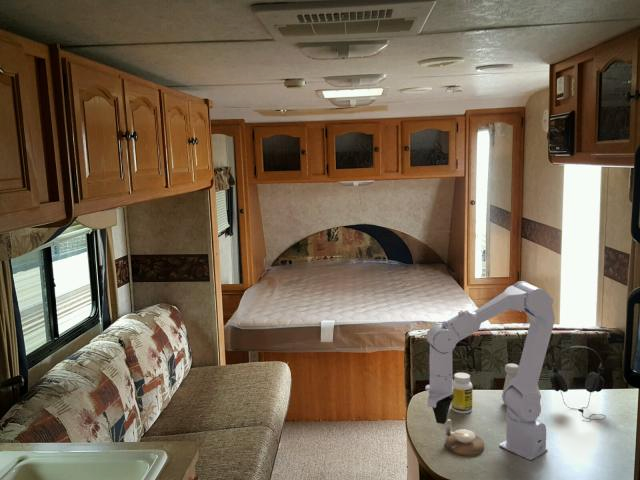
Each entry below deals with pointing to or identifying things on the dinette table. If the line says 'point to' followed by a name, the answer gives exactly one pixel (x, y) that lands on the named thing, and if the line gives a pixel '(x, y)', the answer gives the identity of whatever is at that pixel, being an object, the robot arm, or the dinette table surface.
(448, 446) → the base
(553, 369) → the headphones
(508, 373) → the salt shaker
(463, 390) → the pill bottle
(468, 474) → the dinette table surface
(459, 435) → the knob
